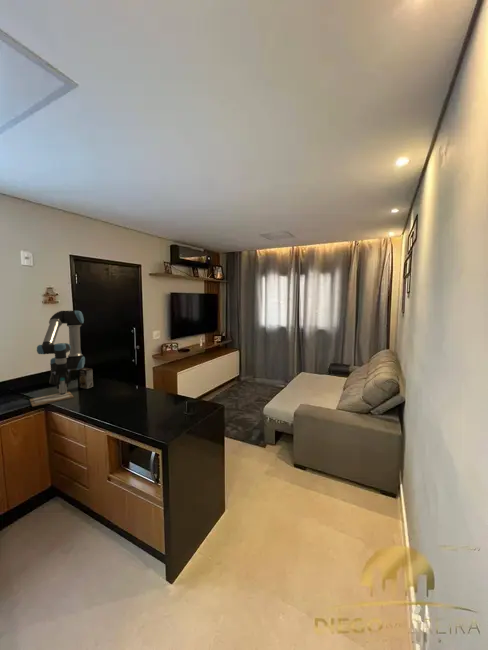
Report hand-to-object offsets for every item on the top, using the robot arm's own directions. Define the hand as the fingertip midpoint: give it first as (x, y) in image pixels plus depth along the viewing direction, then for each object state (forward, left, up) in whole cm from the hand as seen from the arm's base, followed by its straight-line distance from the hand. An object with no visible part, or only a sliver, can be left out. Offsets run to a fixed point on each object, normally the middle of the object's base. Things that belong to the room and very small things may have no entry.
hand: (62, 392), depth 225 cm
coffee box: (-10, +19, -3) cm, 22 cm away
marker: (0, 0, -1) cm, 1 cm away
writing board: (+4, -8, -3) cm, 9 cm away
